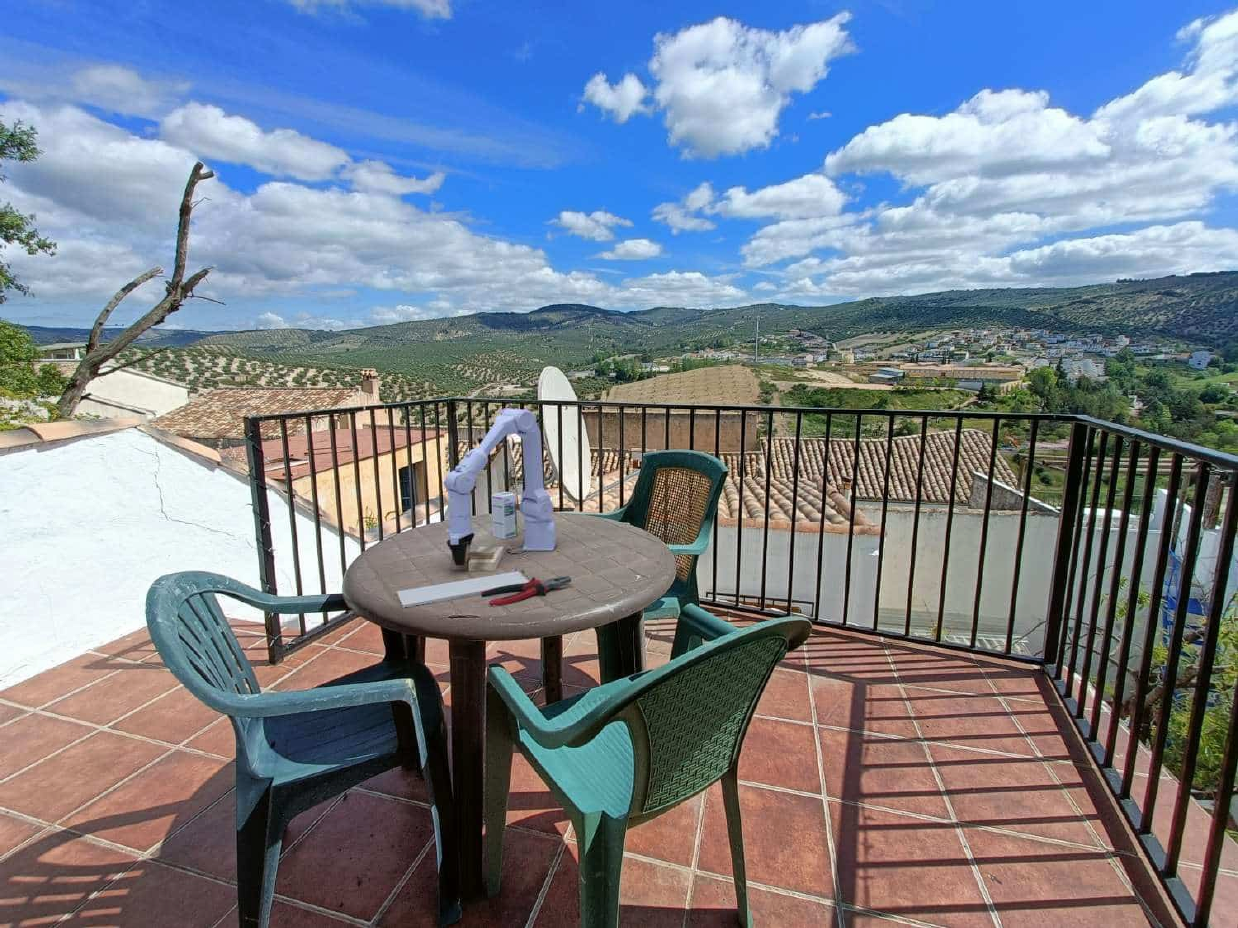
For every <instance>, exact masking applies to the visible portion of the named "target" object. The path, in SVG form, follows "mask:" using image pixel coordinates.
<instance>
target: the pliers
mask: <svg viewBox="0 0 1238 928" xmlns="http://www.w3.org/2000/svg"><path fill="white" fill-rule="evenodd" d="M569 583H572V578H571V577H570V576H569V575H564V576H557V577H553V578H548V579H545V580H544V579H543V580H541V579H536V577H534V576H533V577H532V578H531V579H530V580H529V582H527V583H521V584H513V585H507V586H501V587H497V588H493V589H489V590H486V591H483V592H482V593H481V597H482V598H488V597H490V596H491V597H492V596H495V595H501V594H505V593H506V594H507V593H513V592H517V591H520V592H518V593H514V594H511V595H508V596H504V597H500V598H495V599H493V600H489V602H488V606H489V605H491V606H493V605H500V606H504V604H505V605H509V604H512V602H513V603H516V602H519V601H520V600H521V601H522V600H525V599H526V598H528V597H531V596H534V595H537V596H541V597H546V595H547V594H546V593H547V590H550V589H555V588H557V587H560V586H563V585H566V584H569ZM487 596H488V597H487ZM508 603H509V604H508ZM491 606H490V607H491ZM493 607H494V606H493Z"/></svg>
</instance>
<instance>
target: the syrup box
mask: <svg viewBox="0 0 1238 928" xmlns="http://www.w3.org/2000/svg"><path fill="white" fill-rule="evenodd" d="M491 511H492V513H491V514H492V536H493V537H494V538H498V539H501V540H506V539H510V538H513V537H517V536H518V518H517V517H518V516H517V494H516V493H514V492H511V491H502V492H499V493H494V494H491Z"/></svg>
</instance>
